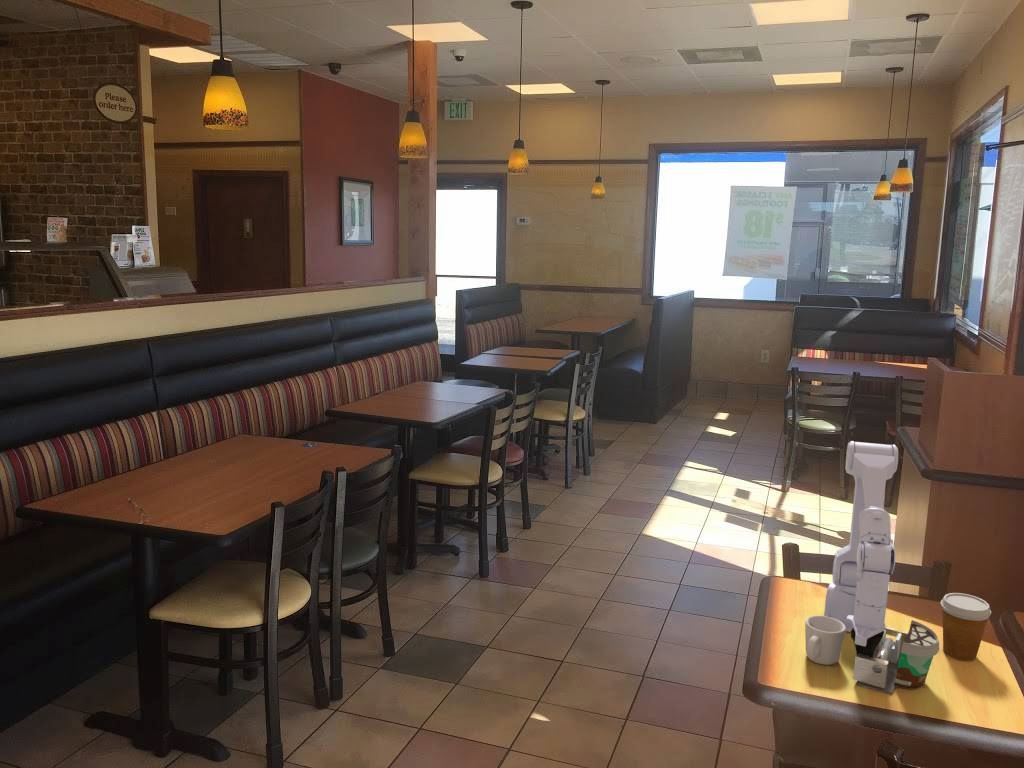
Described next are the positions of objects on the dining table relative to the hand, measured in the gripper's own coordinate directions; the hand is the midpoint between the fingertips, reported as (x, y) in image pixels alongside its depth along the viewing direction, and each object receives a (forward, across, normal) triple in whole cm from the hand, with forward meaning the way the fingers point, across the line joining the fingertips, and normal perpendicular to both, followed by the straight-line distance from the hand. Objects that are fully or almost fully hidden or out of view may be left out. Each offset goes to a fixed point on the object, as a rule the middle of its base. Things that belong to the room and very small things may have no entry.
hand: (863, 664), depth 171 cm
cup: (+3, -2, -9) cm, 10 cm away
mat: (+3, -8, +3) cm, 9 cm away
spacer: (0, -14, +3) cm, 15 cm away
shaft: (+2, -4, +2) cm, 4 cm away
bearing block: (+3, -12, +3) cm, 12 cm away
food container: (+3, -5, +9) cm, 11 cm away
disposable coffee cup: (+3, -23, +15) cm, 28 cm away
